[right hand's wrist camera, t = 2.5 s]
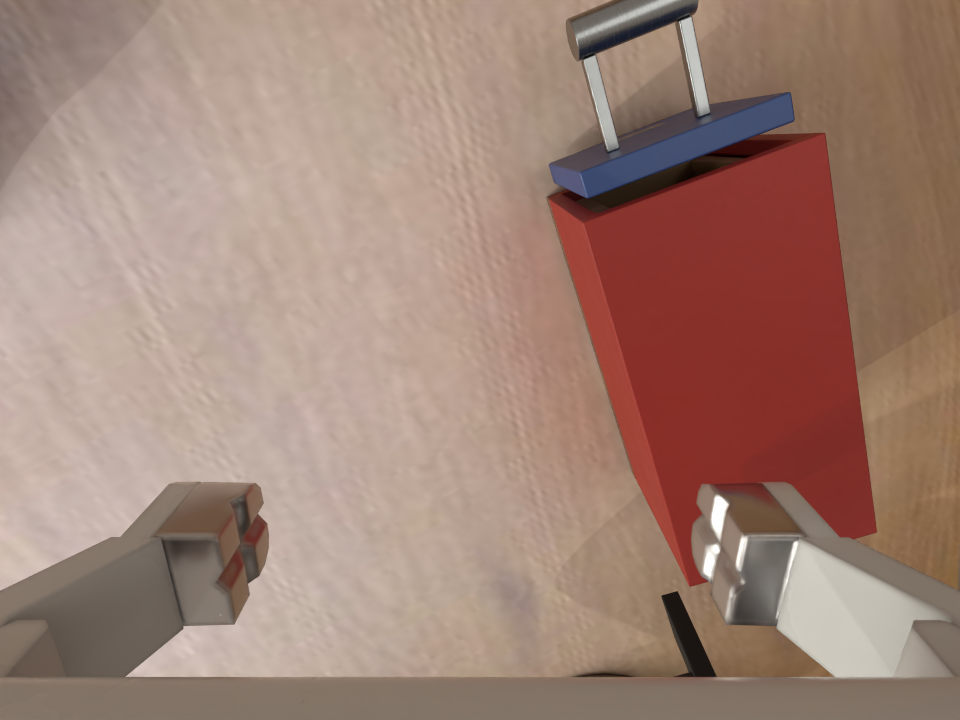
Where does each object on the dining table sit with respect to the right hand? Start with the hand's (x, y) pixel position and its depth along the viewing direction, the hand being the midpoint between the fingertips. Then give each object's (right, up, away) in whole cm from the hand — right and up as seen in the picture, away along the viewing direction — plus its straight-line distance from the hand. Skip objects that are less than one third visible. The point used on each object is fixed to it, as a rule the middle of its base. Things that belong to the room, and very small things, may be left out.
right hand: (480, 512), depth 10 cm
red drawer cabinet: (+13, +5, +27) cm, 31 cm away
